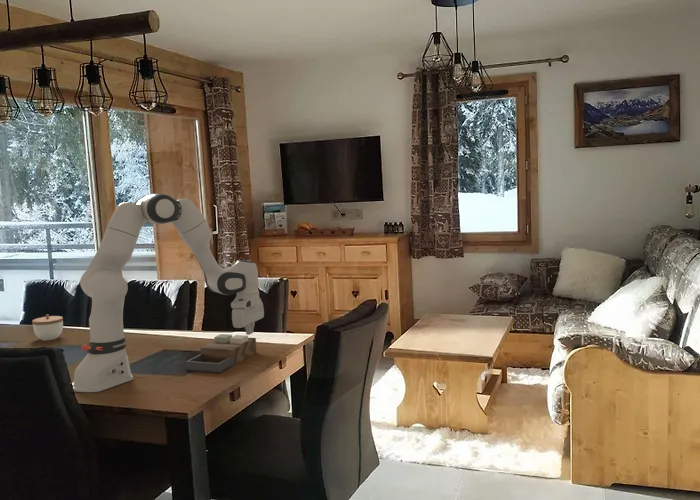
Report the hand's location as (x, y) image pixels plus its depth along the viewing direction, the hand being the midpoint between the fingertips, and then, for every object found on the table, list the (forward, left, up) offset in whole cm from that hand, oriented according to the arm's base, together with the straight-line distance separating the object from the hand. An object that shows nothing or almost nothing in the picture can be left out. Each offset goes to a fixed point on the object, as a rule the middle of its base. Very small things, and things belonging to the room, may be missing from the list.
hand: (249, 333), depth 253 cm
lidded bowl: (-1, +102, -7) cm, 103 cm away
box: (-25, +3, -7) cm, 26 cm away
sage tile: (-9, +7, -1) cm, 11 cm away
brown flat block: (-11, +3, -7) cm, 13 cm away
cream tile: (-9, 0, -1) cm, 9 cm away
